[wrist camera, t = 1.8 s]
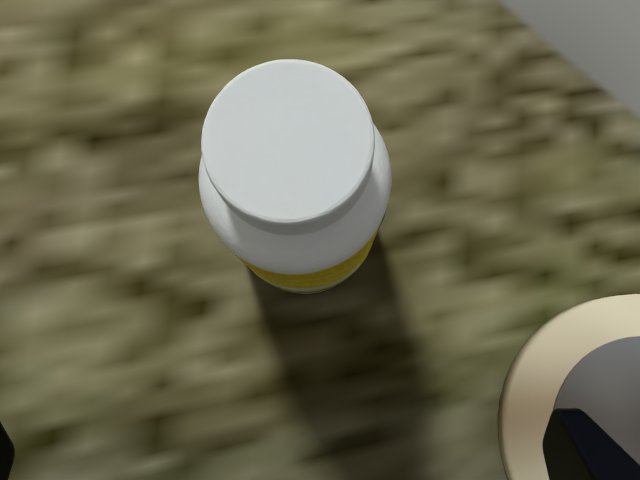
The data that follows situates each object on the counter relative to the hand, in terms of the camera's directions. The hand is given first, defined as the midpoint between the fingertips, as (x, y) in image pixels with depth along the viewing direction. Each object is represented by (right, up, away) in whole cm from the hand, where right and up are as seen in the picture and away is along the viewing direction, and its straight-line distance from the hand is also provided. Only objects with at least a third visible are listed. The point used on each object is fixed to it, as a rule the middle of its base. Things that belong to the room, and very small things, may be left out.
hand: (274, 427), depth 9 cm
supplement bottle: (0, +4, +13) cm, 14 cm away
